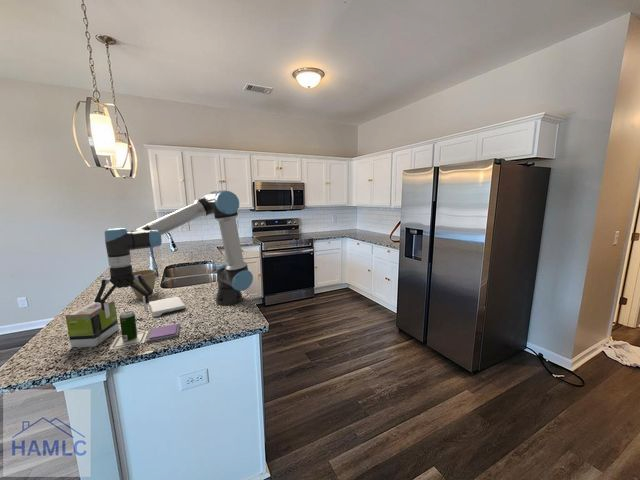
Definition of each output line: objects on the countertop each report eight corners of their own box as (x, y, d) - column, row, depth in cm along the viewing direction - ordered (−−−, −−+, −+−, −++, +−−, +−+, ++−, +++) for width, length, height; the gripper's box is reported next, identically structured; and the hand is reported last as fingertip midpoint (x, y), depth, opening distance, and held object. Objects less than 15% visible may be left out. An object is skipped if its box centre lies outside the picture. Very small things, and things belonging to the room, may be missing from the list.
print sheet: (148, 331, 125) (148, 330, 125) (143, 343, 114) (143, 342, 114) (117, 336, 120) (117, 336, 120) (108, 350, 109) (108, 349, 109)
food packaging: (149, 307, 155) (153, 318, 139) (149, 301, 155) (152, 312, 139) (178, 301, 164) (185, 311, 148) (178, 296, 163) (184, 305, 148)
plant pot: (128, 297, 170) (125, 272, 167) (155, 291, 179) (153, 268, 177) (132, 303, 158) (128, 277, 156) (160, 297, 168) (158, 272, 166)
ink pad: (180, 325, 130) (179, 322, 130) (178, 336, 119) (177, 333, 119) (151, 330, 125) (150, 327, 125) (146, 342, 114) (146, 339, 114)
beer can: (132, 342, 114) (129, 315, 113) (119, 342, 114) (116, 316, 112) (140, 336, 120) (137, 310, 118) (127, 336, 120) (124, 310, 118)
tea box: (97, 330, 126) (92, 300, 124) (119, 329, 126) (115, 299, 124) (69, 348, 111) (64, 314, 109) (95, 347, 112) (90, 313, 109)
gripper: (78, 271, 104) (87, 323, 107) (153, 263, 114) (159, 311, 117) (86, 267, 111) (94, 316, 114) (156, 260, 120) (162, 305, 124)
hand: (127, 313), depth 115 cm, fingers open, 13 cm apart
